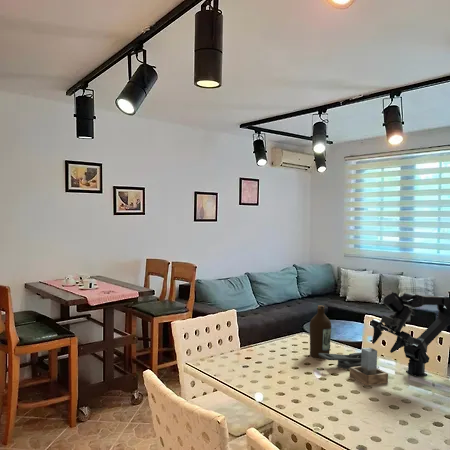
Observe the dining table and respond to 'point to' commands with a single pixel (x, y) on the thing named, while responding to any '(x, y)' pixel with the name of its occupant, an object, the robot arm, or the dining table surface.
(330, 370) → the dining table surface
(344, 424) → the dining table surface
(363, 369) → the bracket post
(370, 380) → the well
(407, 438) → the dining table surface
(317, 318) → the olive oil
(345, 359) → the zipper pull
